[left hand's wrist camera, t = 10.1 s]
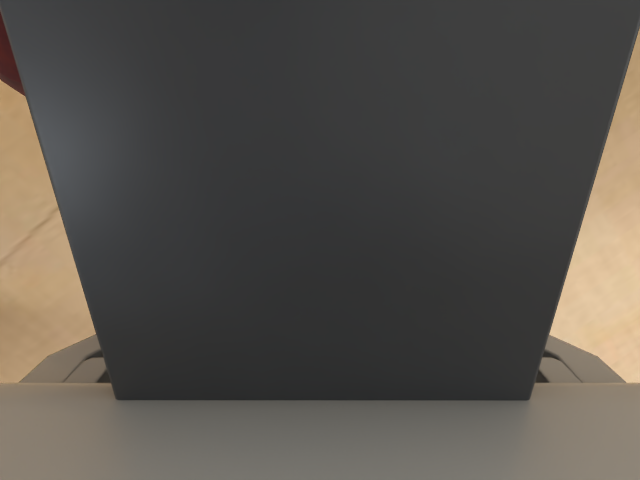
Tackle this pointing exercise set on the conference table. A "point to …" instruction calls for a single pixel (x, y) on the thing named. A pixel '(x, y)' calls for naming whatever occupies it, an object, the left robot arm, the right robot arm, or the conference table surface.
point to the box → (322, 185)
